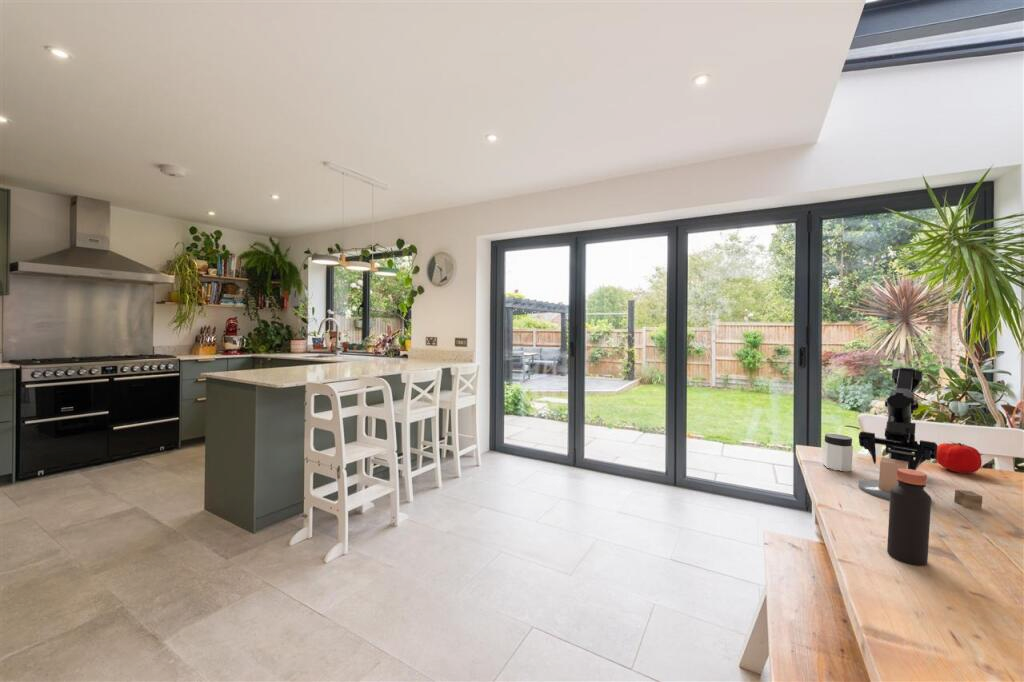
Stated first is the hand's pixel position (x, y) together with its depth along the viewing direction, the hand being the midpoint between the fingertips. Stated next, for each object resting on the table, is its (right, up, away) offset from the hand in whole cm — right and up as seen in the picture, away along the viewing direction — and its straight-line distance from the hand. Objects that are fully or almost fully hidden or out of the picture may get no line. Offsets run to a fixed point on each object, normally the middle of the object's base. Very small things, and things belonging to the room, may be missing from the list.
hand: (893, 466), depth 133 cm
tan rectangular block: (+1, -8, +1) cm, 8 cm away
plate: (+1, -9, +1) cm, 9 cm away
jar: (+1, -8, +25) cm, 26 cm away
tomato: (+45, -9, +24) cm, 52 cm away
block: (+15, -10, -7) cm, 20 cm away
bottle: (-31, -10, -37) cm, 49 cm away
